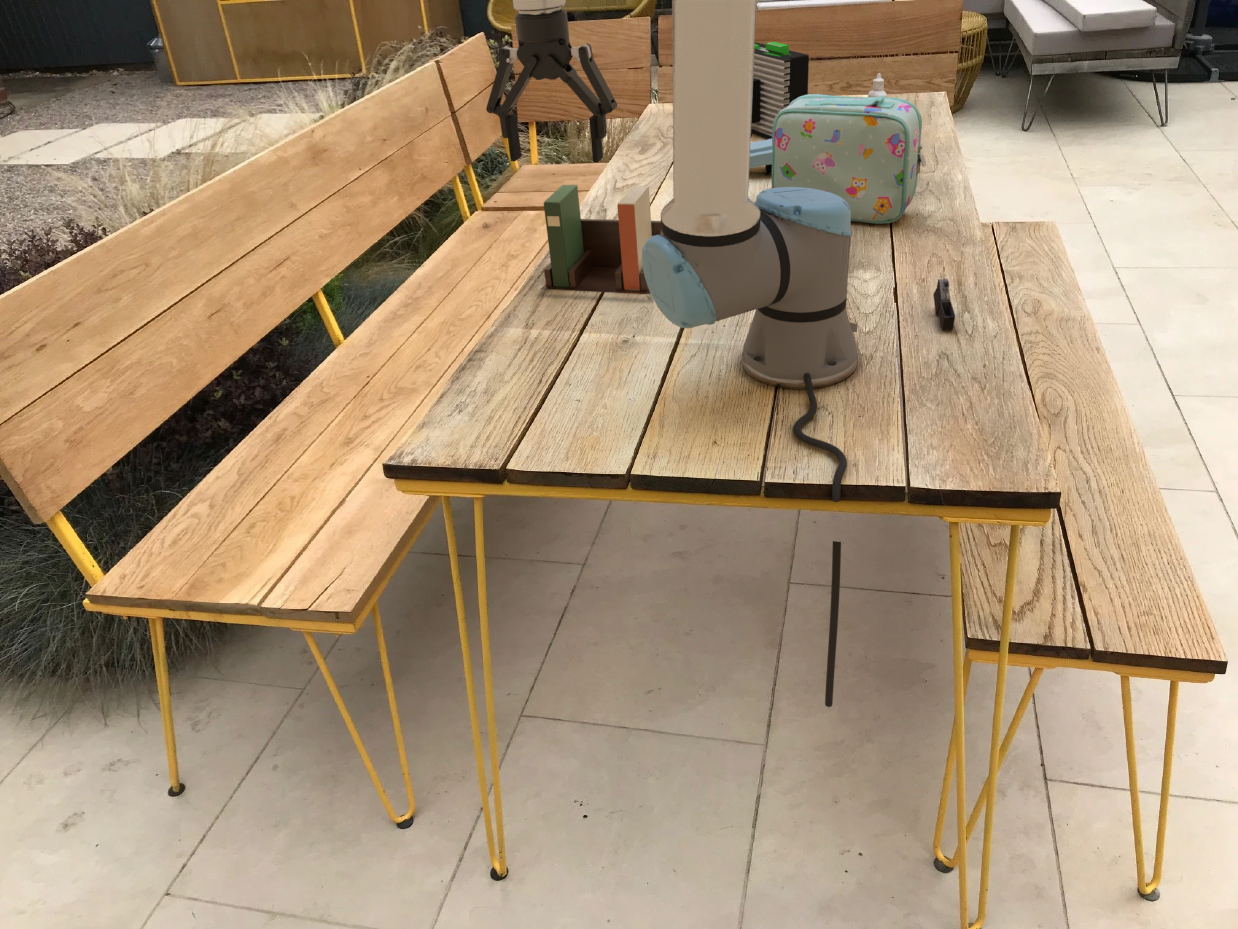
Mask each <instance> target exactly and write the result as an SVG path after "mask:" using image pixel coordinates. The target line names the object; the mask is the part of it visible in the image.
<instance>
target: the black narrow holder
mask: <svg viewBox="0 0 1238 929" xmlns="http://www.w3.org/2000/svg"><path fill="white" fill-rule="evenodd" d="M932 294H933V303H934V304H933V305H934V312H935V313H934V314H935V316H937V317H938V322H939V326H940V328H941V330H942V331H953V330H954V325H955V321H956V320H955V319H956V313H955V311H954V307H953V303H952V301H951V294H950V281H949V279H948V278H939V279H937V284H936V288H935V290H934V292H933V293H932Z"/></svg>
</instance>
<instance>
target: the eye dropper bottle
mask: <svg viewBox="0 0 1238 929" xmlns="http://www.w3.org/2000/svg"><path fill="white" fill-rule="evenodd" d="M884 86H885V78H882V73H880V72H878V73H877V74H876V78H874V79H873V81H872V90H870V91H868V94H867V97H879V96H881V95H883V96H884V97H888V94H887V92H886V91H885V90H884V88H885V87H884Z"/></svg>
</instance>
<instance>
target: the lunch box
mask: <svg viewBox="0 0 1238 929" xmlns="http://www.w3.org/2000/svg"><path fill="white" fill-rule="evenodd" d="M922 127H923V119H922V115H921V112H920V110H919V108H918V107H917V106H916V105H915V104H914V103H912V102H911V101H910V100H908V99H903V98H900V97H890V96H887V97H884V96H883V95H881V96H879V97H868V96H866V97H865V96H845V95H844V96H843V95H830V94H820V93H819V94H818V93H808V95H804V96H801V97H798V98H796V99H795V100H793V101H792V102H791V103H790V104H789V106H788V107H786V108H784V109H783V110H781V111H780V112H779V113H778V114H777V115H776V117H775V119H774V123H773V130H772V174H771V188H777V187H802V188H810V189H817V190H822V191H826V192H830V193H833V194H835V195H837V196H839V197H841V198H843V199H844V200H845V201H846V202H847V203H848V205H849V207H850V211H851V222H861V223H869V224H891V223H894V222H896V221H898V220H899V219H901V217H902V216H903V215H904V213H905V212H906V209H907V208H908V206H910V204H911V203H912V201H913V199H914V196H915V194H916V190H917V186H918V178H919V174H920V173H921V166H922V167H926V165H927V164H926V159H925V155H924V151H921V150H922V149H923V146H922V144H921V139H922Z"/></svg>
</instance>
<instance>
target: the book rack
mask: <svg viewBox="0 0 1238 929" xmlns="http://www.w3.org/2000/svg"><path fill="white" fill-rule="evenodd" d="M581 226H582V236H583V246H584V253H583V254H582V256H581V257H580V258H579V259H578V260H577V261H576V263H575V264H574V265H573V266H572V267H571V268H570V269H569V279H570V286H569V287H561V286H554V284H553V276H552V268H551V262H549V264H547V266H546V267H545V268H544V269H543V273H544V281H545V284H544V285H543V286H542V287H541V288H540V290H548V291H549V290H550V291H551V290H553V291H569V292H571V291H572V292H592V293H594V292H595V293H614V294H635V295H651V293H650V290H649V288H648V285H647V282H646V279H645V276H644V271H643V270H642V272H641V273H640V277H641V290H625V289H624V282H623V270H622V257H621V245H620V232H619V220H618V219H604V218H603V219H598V218H597V219H596V218H581ZM651 229H652V236H655V235H660V234H661V220H651Z"/></svg>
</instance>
